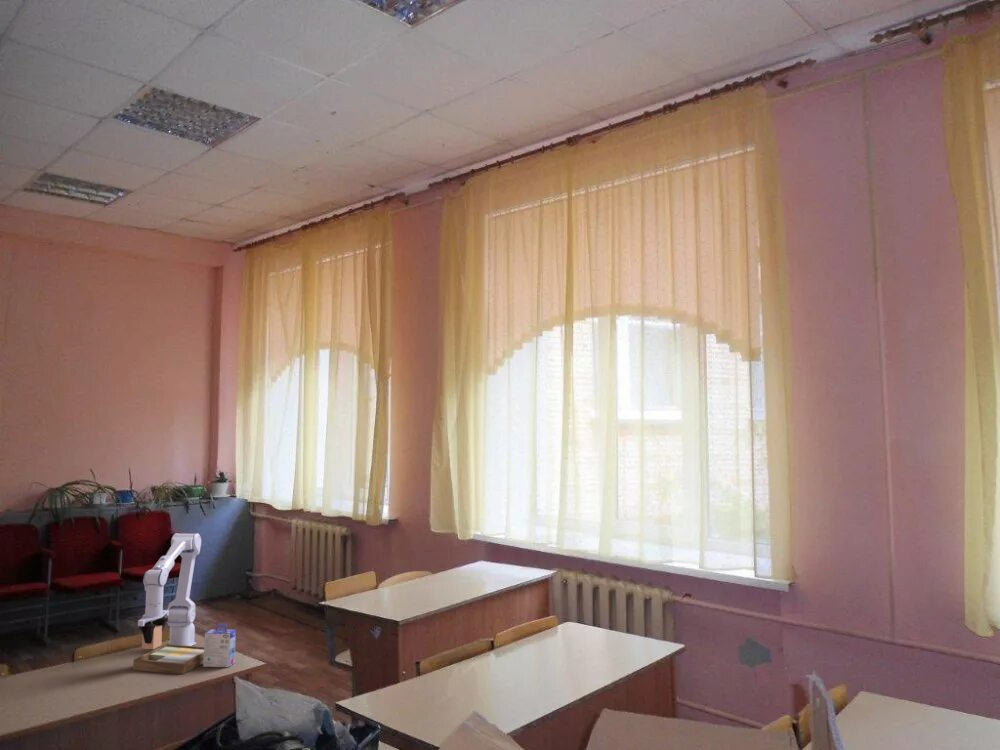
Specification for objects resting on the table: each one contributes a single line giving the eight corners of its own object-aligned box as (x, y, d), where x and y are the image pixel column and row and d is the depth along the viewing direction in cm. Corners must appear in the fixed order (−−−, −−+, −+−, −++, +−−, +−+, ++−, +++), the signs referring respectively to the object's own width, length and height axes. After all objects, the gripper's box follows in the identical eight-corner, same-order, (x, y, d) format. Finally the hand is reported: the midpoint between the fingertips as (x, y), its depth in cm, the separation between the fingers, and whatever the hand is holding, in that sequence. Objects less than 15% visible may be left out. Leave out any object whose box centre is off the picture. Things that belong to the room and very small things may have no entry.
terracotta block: (150, 644, 257) (150, 625, 258) (161, 645, 257) (162, 625, 257) (141, 648, 253) (142, 628, 253) (153, 649, 252) (153, 629, 252)
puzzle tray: (165, 653, 268) (165, 644, 269) (212, 657, 265) (213, 647, 265) (133, 669, 251) (133, 659, 251) (183, 674, 247) (183, 664, 247)
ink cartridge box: (235, 662, 259) (237, 622, 260) (229, 667, 254) (230, 627, 255) (209, 661, 260) (210, 622, 261) (202, 667, 254) (204, 626, 255)
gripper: (157, 597, 263) (156, 634, 263) (130, 607, 249) (129, 646, 248) (174, 598, 262) (173, 635, 261) (148, 608, 248) (147, 647, 247)
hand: (152, 640), depth 255 cm, fingers closed on terracotta block, 5 cm apart
